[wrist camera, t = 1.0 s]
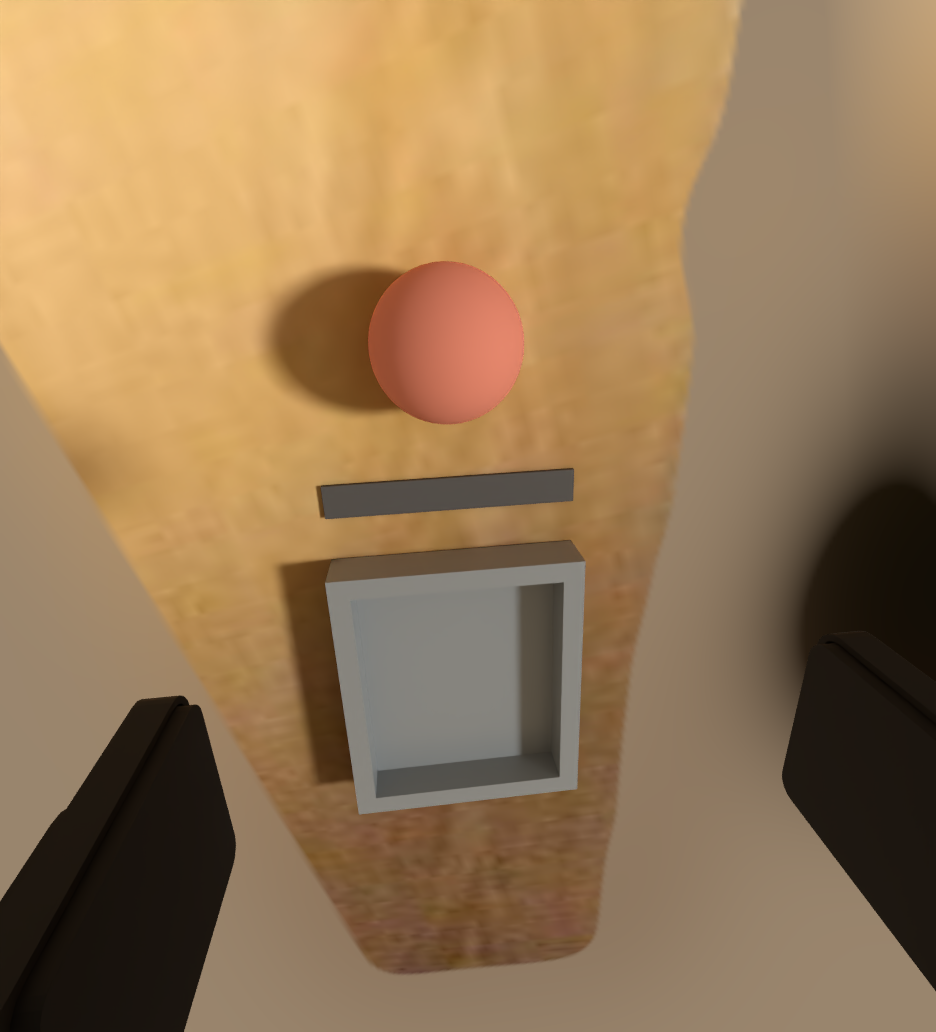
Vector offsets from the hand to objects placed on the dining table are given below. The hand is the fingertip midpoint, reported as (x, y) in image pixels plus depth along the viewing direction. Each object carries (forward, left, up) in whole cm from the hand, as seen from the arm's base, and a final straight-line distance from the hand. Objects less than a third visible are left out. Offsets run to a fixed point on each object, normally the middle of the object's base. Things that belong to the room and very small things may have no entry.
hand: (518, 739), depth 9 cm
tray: (+12, 0, -19) cm, 23 cm away
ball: (-5, 0, -16) cm, 17 cm away
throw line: (+2, 0, -19) cm, 19 cm away
